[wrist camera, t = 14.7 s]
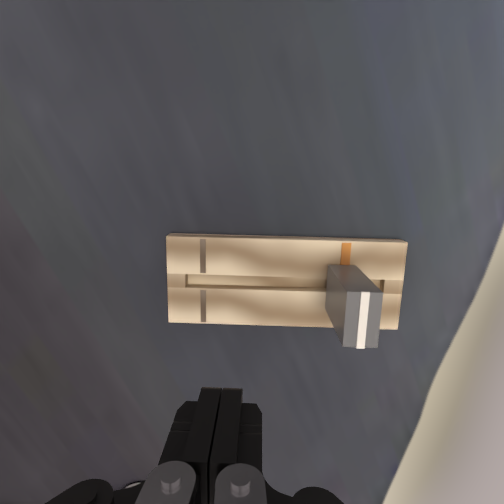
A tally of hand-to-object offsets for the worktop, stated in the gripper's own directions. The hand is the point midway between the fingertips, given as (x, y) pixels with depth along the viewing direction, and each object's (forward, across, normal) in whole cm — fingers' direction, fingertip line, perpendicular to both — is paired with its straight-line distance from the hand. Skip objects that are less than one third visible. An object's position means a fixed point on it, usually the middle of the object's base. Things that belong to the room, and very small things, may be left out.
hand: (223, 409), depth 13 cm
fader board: (+29, +4, -4) cm, 29 cm away
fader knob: (+29, +10, -4) cm, 31 cm away
